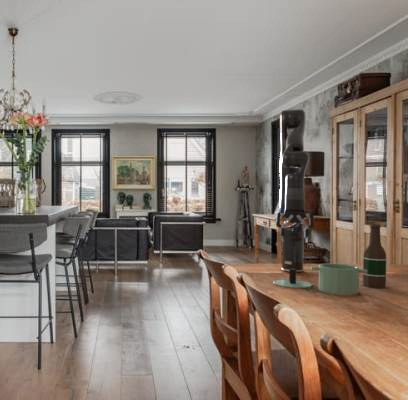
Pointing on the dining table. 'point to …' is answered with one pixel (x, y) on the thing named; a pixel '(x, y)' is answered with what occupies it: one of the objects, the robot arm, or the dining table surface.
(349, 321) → the dining table surface
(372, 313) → the dining table surface
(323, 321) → the dining table surface
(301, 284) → the lid
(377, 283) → the beer bottle
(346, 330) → the dining table surface
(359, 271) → the pot
